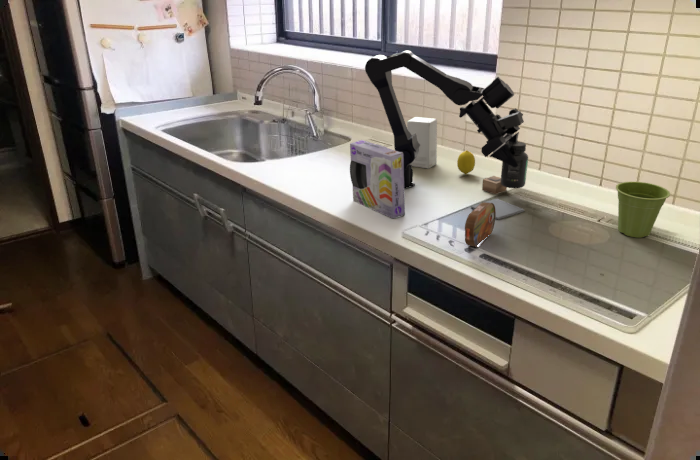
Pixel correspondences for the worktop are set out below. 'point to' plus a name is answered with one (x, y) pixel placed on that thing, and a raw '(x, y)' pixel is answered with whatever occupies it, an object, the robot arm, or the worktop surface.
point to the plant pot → (639, 207)
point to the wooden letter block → (493, 185)
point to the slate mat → (503, 208)
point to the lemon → (466, 162)
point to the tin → (480, 223)
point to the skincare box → (424, 141)
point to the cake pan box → (378, 178)
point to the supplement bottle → (515, 175)
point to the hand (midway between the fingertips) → (520, 163)
